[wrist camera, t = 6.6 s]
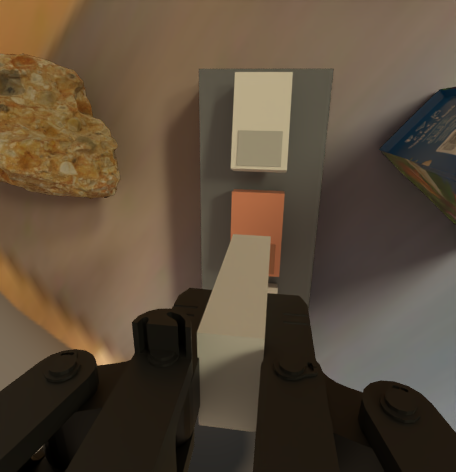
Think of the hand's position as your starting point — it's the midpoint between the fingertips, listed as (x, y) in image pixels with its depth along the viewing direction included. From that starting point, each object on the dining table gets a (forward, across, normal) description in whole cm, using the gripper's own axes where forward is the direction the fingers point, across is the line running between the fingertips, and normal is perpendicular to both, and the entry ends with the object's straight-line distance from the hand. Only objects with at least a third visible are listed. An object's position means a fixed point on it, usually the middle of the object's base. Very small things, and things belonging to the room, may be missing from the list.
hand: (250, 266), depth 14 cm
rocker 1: (+11, 0, +5) cm, 12 cm away
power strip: (+18, 0, -5) cm, 18 cm away
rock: (+18, -17, +4) cm, 25 cm away
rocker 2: (+11, 0, -2) cm, 11 cm away
